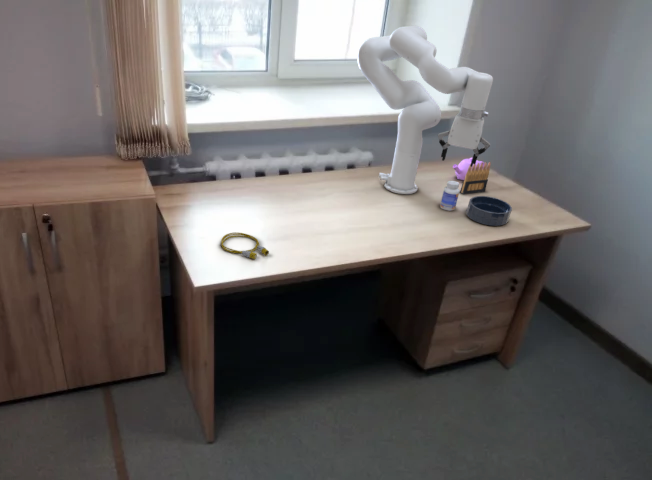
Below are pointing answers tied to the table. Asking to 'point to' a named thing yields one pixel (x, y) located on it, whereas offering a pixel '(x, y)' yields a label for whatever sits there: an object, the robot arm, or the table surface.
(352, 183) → the table surface
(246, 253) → the extension cord
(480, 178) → the ammunition clip
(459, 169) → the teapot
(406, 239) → the table surface
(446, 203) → the pill bottle
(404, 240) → the table surface
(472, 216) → the bowl
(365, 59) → the robot arm
